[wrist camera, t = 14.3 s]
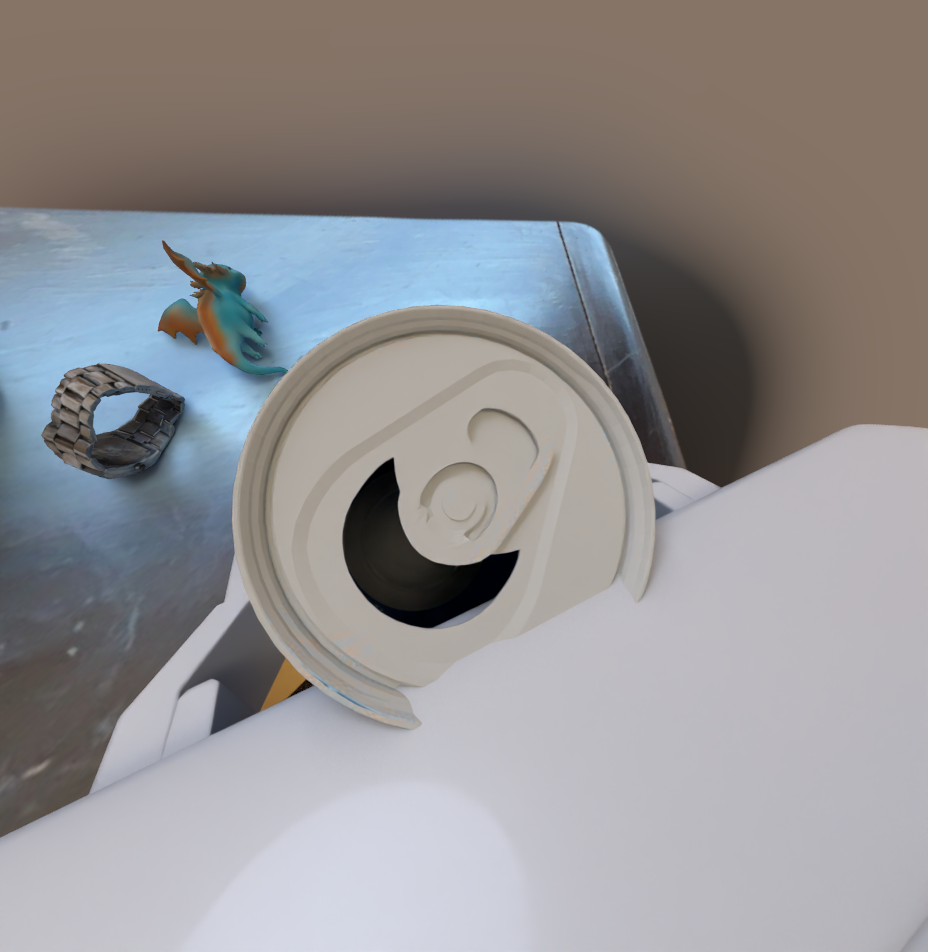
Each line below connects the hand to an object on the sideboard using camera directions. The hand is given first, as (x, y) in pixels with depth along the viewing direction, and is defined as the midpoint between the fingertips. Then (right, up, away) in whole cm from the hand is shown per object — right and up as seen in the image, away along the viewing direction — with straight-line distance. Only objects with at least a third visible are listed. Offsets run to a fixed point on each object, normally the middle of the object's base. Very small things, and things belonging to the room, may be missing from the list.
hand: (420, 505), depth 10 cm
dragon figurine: (-12, +9, +11) cm, 19 cm away
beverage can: (-1, -2, +6) cm, 7 cm away
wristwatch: (-16, +3, +9) cm, 19 cm away
